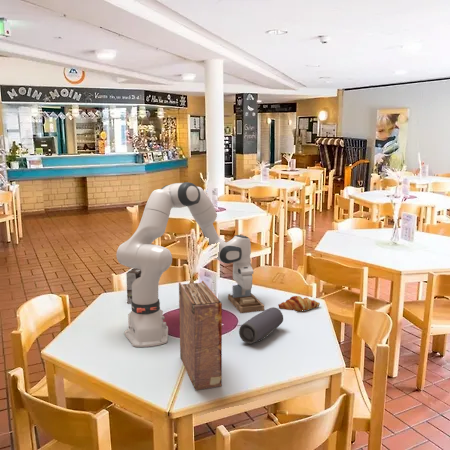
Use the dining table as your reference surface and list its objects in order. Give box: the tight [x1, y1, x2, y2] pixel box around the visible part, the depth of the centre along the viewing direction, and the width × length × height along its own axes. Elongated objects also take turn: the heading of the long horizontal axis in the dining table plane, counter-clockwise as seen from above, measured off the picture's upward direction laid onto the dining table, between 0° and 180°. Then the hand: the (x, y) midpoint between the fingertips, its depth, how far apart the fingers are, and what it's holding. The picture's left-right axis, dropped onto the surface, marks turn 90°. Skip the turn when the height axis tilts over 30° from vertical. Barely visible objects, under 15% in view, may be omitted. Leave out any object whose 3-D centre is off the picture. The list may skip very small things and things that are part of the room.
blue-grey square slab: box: [232, 284, 252, 298], centre depth 236 cm, size 2×9×8 cm, turn 107°
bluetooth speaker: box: [238, 306, 284, 345], centre depth 196 cm, size 23×9×10 cm, turn 145°
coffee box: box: [125, 268, 141, 304], centre depth 238 cm, size 9×6×16 cm
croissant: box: [278, 295, 321, 312], centre depth 228 cm, size 21×10×8 cm, turn 102°
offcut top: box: [240, 297, 255, 304], centre depth 229 cm, size 4×6×2 cm
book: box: [178, 280, 223, 391], centre depth 166 cm, size 25×9×30 cm, turn 17°
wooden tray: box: [227, 292, 265, 314], centre depth 231 cm, size 20×12×4 cm, turn 17°
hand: (241, 293), depth 236 cm, fingers open, 3 cm apart
